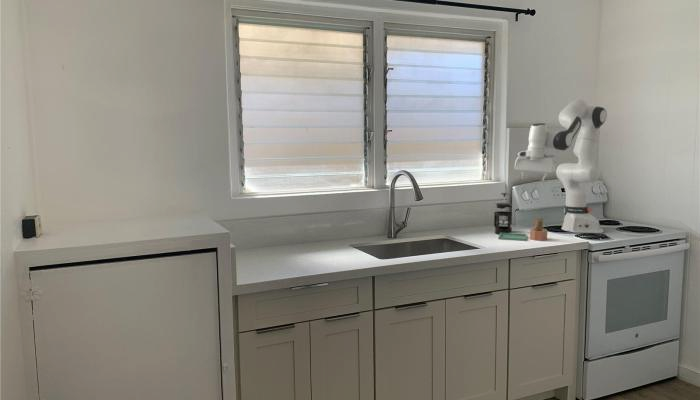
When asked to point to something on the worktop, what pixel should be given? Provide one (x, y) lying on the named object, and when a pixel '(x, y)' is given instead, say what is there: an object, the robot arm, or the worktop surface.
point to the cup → (538, 235)
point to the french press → (503, 213)
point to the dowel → (539, 224)
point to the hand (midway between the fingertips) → (533, 180)
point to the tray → (512, 236)
